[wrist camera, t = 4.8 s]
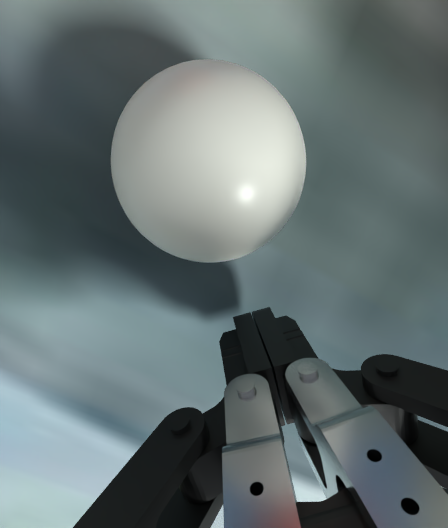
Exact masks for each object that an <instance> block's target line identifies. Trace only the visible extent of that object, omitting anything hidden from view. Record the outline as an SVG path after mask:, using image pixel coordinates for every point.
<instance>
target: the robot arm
mask: <svg viewBox="0 0 448 528" xmlns="http://www.w3.org/2000/svg"><path fill="white" fill-rule="evenodd" d="M252 316H253V318H252ZM233 319H234V323H235V326H236V329H235V330H232V331H228V332H224V333H223V335H222V337H221V339H220V341H219V342H220V348H221V354H222V360H223V366H224V372H225V378H226V384H227V386H226V388H225V391H224V398H223V399H222V400H221V401H220V402H219V403H218V404H217V405H216V406H215V407H213V408H212V409H210V410H208V411H206V412H205V413H203V414H202V413H201V411H199V410H198V409H195V408H190V407H187V408H181V409H178V410H176V411H174V412H172V413H170V414H169V415H168V416H167V417H165V418H164V420H163V421H162V422H161V423H160V424H159V425H158V427H157V428H156V429H155V430H154V431H153V433H152V434H151V435H150V436H149V437H148V439H147V440H146V441H145V442H144V443H143V445H142V446H141V447H140V448H139V449H138V450H137V452H136V453H135V454H134V455H133V456H132V458H131V459H130V460H129V461H128V462H127V464H126V465H125V466H124V467H123V468H122V470H121V471H120V472H119V473H118V474H117V476H116V477H115V478H114V479H113V480H112V481H111V483H110V484H109V485H108V486H107V487H106V489H105V490H104V491H103V492H102V493H101V495H100V496H99V497H98V498H97V499H96V501H95V502H94V503H93V504H92V505H91V507H90V508H89V509H88V510H87V511H86V512H85V514H84V515H83V516H82V517H81V518H80V520H79V521H78V522H77V523H76V524H75V526H74V527H73V528H210V527H211V525H212V524H213V522H214V520H215V518H216V516H217V514H218V512H219V511H220V509H221V507H222V505H223V506H224V528H448V432H447V431H444V430H442V429H439V428H437V427H434V426H432V425H429V424H427V423H424V422H422V421H419V420H418V418H417V415H418V416H421V417H423V418H426V419H428V420H431V421H433V422H436V423H438V424H441V425H444V426H446V427H448V371H447V370H444V369H440V368H437V367H433V366H430V365H426V364H423V363H419V362H416V361H412V360H409V359H405V358H402V357H398V356H394V355H388V354H382V355H375V356H372V357H370V358H368V359H366V360H365V361H364V362H363V364H362V366H361V370H356V371H341V370H335V369H332V368H331V367H330V366H329V365H328V364H327V363H326V362H325V361H323V360H320V359H318V357H317V356H316V354H315V352H314V351H313V349H312V347H311V346H310V344H309V343H308V341H307V339H306V338H305V336H304V334H303V333H302V331H301V330H300V328H299V326H298V325H297V323H296V321H295V320H293V319H291V318H289V317H288V316H283V317H279V318H275V317H274V315H273V313H272V311H271V309H270V307H268V308H264V309H261V310H257V311H253V312H252V315H251V313H246V314H243V315H239V316H235V317H233ZM282 411H283V413H282ZM283 414H284V417H285V420H286V422H287V424H290V423H295V425H296V428H297V431H298V435H299V440H300V443H301V446H302V448H303V450H304V452H305V454H306V456H307V459H308V461H309V463H310V465H311V467H312V469H313V471H314V473H315V475H316V477H317V479H318V481H319V484H320V486H321V488H322V490H323V492H324V494H325V496H326V498H327V499H326V500H324V501H321V502H297V500H296V496H295V491H294V487H293V483H292V478H291V474H290V470H289V466H288V461H287V457H286V453H285V449H284V436H283V432H282V428H281V426H284V425H285V422H284V418H283ZM441 486H442V487H444V488H442V487H441ZM445 488H446V489H445Z"/></svg>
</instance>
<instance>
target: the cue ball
mask: <svg viewBox="0 0 448 528" xmlns="http://www.w3.org/2000/svg"><path fill="white" fill-rule="evenodd" d="M111 172H112V179H113V183H114V188H115V191H116V194H117V197H118V199H119V202H120V204H121V206H122V208H123V210H124V212H125V214H126V215H127V217H128V218H129V220H130V221H131V223H132V224H133V225H134V226H135V228H136V229H137V230H138V231H139V232H140V233H141V234H142V235H143V236H144V237H145V238H147V239H148V240H149V241H150V242H151V243H152V244H154V245H155V246H157V247H158V248H160V249H161V250H163V251H165V252H167V253H169V254H171V255H174V256H177V257H179V258H182V259H186V260H191V261H195V262H205V263H214V262H224V261H229V260H233V259H237V258H240V257H243V256H245V255H248V254H250V253H252V252H254V251H256V250H257V249H259V248H261V247H262V246H264V245H265V244H266V243H268V242H269V241H270V240H271V239H272V238H274V237H275V236H276V235H277V234H278V233H279V232H280V231H281V229H282V228H283V227H284V226H285V224H286V223H287V222H288V220H289V219H290V217H291V215H292V214H293V212H294V210H295V208H296V206H297V204H298V202H299V199H300V196H301V193H302V189H303V184H304V180H305V173H306V151H305V145H304V139H303V135H302V132H301V129H300V126H299V123H298V120H297V118H296V116H295V114H294V112H293V110H292V109H291V107H290V105H289V104H288V102H287V101H286V100H285V98H284V97H283V96H282V95H281V94H280V93H279V91H278V90H277V89H276V88H275V87H274V86H273V85H272V84H271V83H269V82H268V81H267V80H266V79H265V78H263V77H262V76H260V75H259V74H257V73H256V72H254V71H252V70H250V69H248V68H246V67H243V66H241V65H238V64H234V63H231V62H227V61H222V60H213V59H201V60H192V61H187V62H182V63H179V64H176V65H174V66H171V67H168V68H166V69H165V70H163V71H161V72H159V73H157V74H156V75H154V76H153V77H152V78H150V79H149V80H148V81H146V82H145V83H144V84H143V85H142V86H141V87H140V88H139V89H138V90H137V91H136V92H135V93H134V95H133V96H132V97H131V99H130V100H129V101H128V103H127V104H126V106H125V108H124V110H123V112H122V113H121V115H120V117H119V120H118V123H117V126H116V128H115V131H114V136H113V141H112V148H111Z"/></svg>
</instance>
